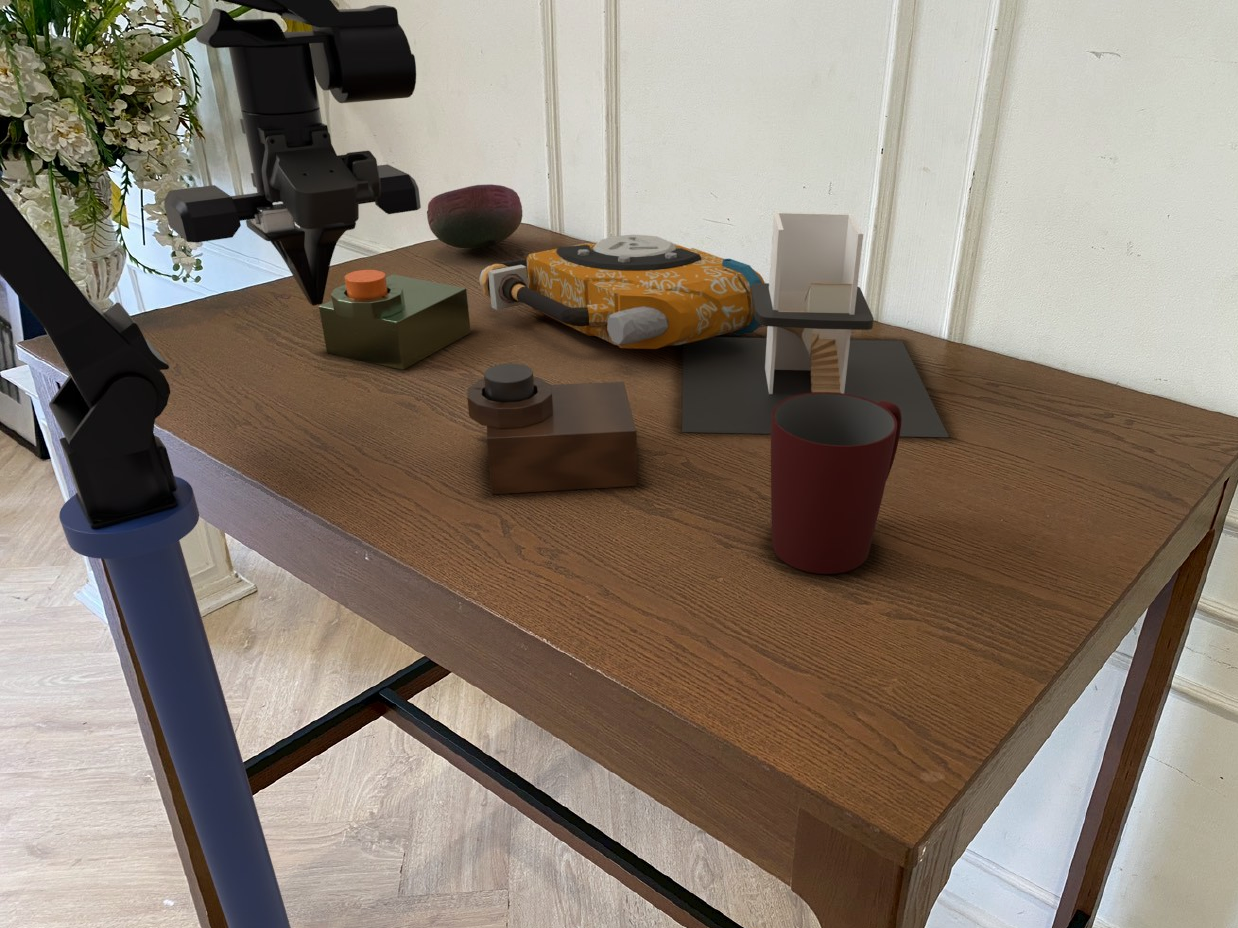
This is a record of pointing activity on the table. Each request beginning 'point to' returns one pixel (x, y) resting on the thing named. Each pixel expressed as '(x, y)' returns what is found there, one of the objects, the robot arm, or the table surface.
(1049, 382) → the table surface
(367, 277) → the orange button
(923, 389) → the dark square-based piece
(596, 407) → the walnut block
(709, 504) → the table surface
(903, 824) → the table surface
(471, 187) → the bowl
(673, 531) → the table surface
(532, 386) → the black button
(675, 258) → the device
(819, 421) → the mug
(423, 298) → the green block
